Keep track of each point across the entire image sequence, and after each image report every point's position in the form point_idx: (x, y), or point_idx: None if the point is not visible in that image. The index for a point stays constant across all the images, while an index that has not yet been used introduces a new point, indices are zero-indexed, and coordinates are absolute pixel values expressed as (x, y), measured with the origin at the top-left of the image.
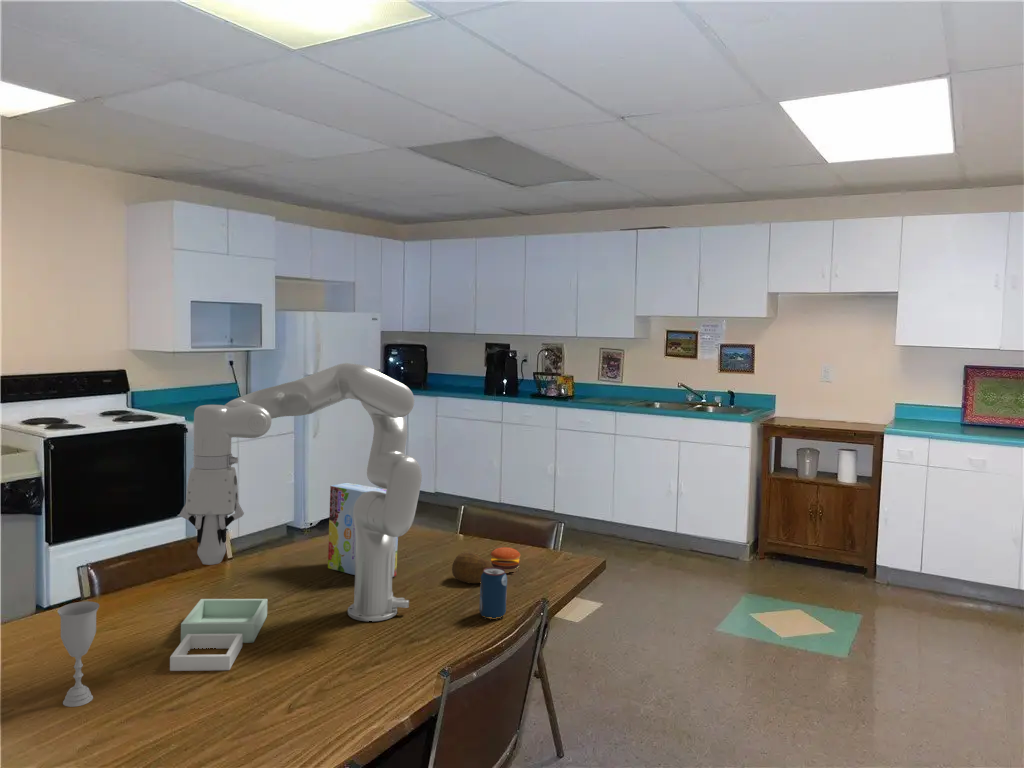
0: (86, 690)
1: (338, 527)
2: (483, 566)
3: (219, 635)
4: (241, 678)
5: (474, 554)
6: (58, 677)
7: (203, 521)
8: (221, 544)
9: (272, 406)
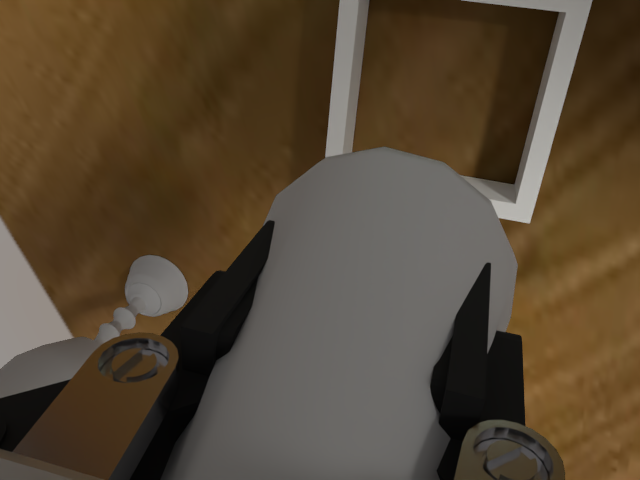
0: (164, 305)
1: None
2: None
3: (484, 2)
4: (567, 268)
5: None
6: (54, 147)
7: (152, 425)
8: None
9: None
